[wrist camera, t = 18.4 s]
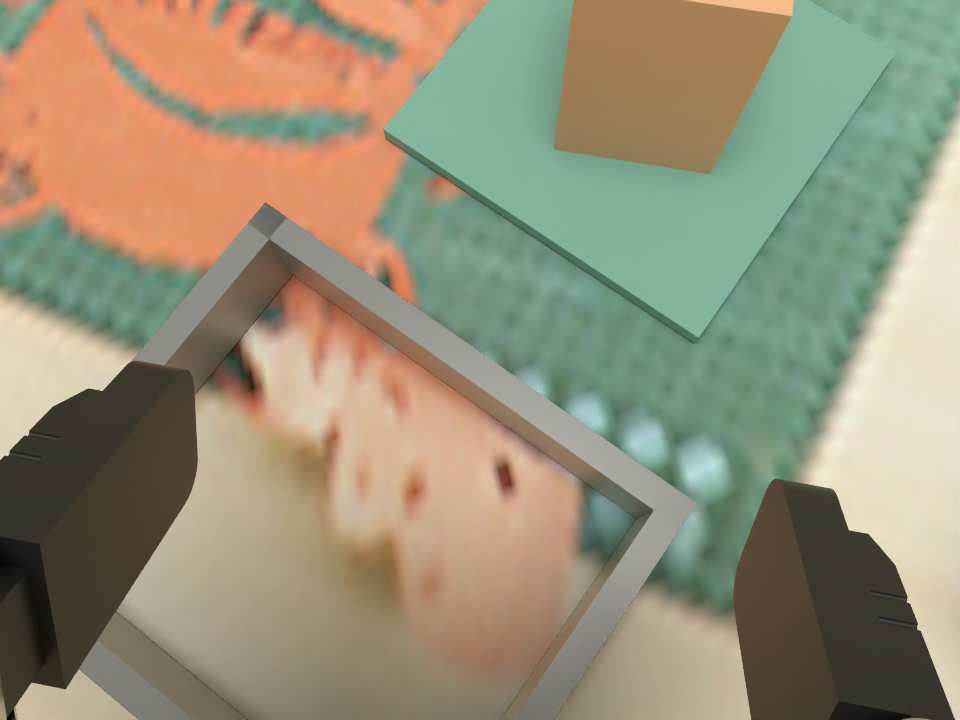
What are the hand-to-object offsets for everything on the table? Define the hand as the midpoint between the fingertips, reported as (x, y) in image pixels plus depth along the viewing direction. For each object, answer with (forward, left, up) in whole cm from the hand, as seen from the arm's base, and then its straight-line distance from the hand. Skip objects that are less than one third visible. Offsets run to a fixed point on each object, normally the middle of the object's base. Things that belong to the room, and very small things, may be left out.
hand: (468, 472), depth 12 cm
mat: (-4, +14, -14) cm, 21 cm away
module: (-4, +14, -13) cm, 20 cm away
